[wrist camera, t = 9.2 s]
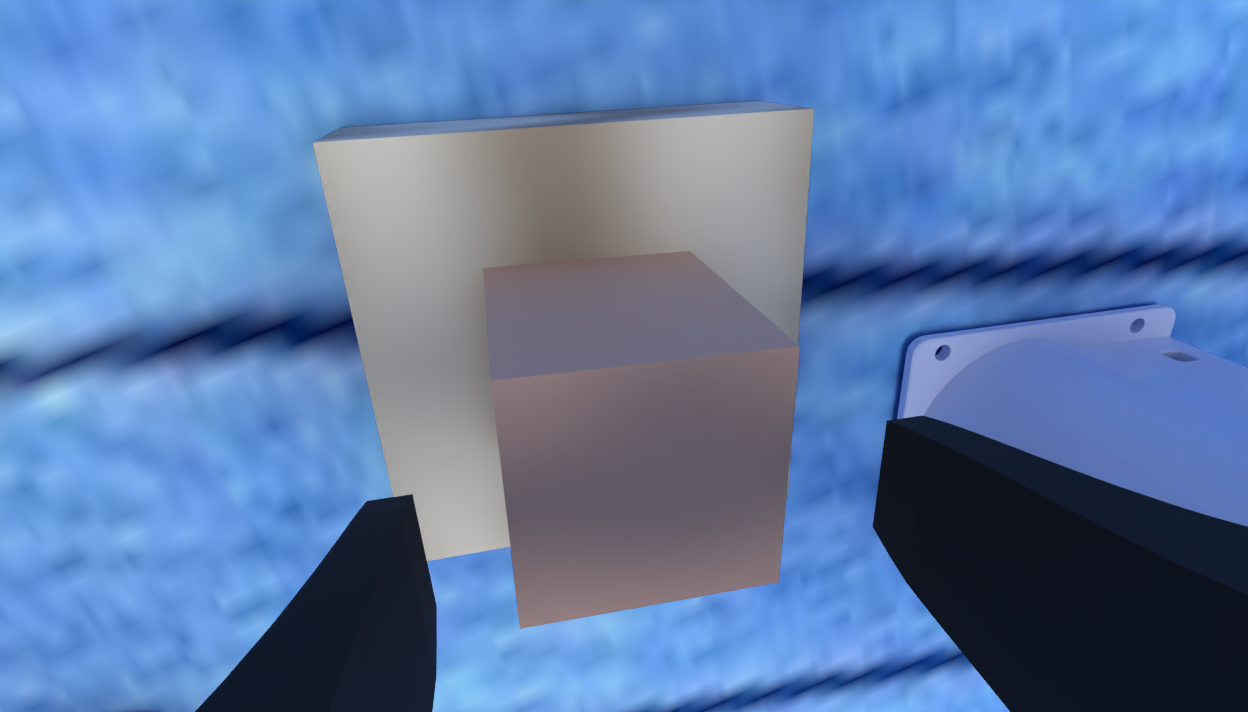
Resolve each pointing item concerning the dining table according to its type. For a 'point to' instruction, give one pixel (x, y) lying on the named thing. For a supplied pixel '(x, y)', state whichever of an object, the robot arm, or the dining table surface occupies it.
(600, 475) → the terracotta block
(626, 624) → the dining table surface
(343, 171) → the birch base
